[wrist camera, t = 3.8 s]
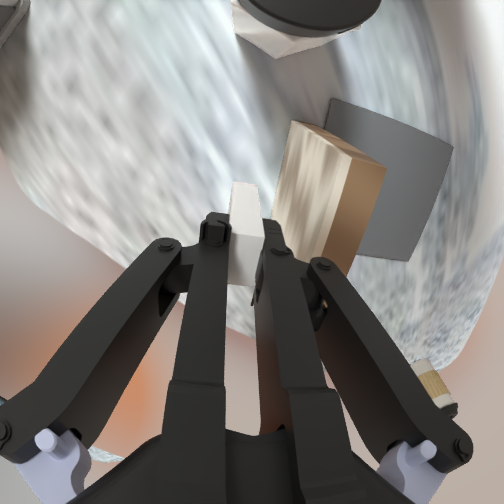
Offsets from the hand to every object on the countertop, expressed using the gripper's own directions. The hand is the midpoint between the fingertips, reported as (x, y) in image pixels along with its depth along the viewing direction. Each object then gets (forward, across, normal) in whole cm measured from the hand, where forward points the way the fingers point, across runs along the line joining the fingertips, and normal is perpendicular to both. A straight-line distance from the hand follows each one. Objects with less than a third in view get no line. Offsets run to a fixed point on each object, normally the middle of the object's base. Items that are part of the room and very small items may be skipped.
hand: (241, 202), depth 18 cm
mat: (+9, +15, 0) cm, 18 cm away
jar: (+10, +1, +15) cm, 18 cm away
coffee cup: (+10, +43, -34) cm, 56 cm away
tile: (+10, +5, 0) cm, 11 cm away
